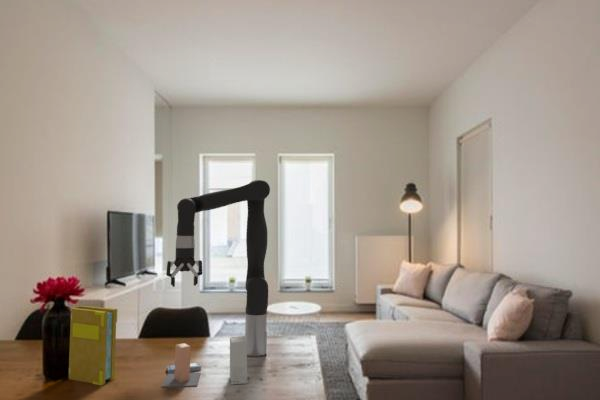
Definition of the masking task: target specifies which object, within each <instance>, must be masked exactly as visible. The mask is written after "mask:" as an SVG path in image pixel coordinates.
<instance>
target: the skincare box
mask: <svg viewBox="0 0 600 400" xmlns="http://www.w3.org/2000/svg"><path fill="white" fill-rule="evenodd" d="M229 379H230V384H231V385H246V384H248V355H247V340H246V337H245V335H243V336H242V335H241V336H240V335H239V336H231V337H230V336H229Z"/></svg>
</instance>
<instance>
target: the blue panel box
mask: <svg viewBox="0 0 600 400" xmlns="http://www.w3.org/2000/svg"><path fill="white" fill-rule="evenodd" d="M166 371H167V374H175V364H170V365H167V366H166ZM198 371H202V365H201V364H200V362H199V361H197V362H190V372H198Z"/></svg>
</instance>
